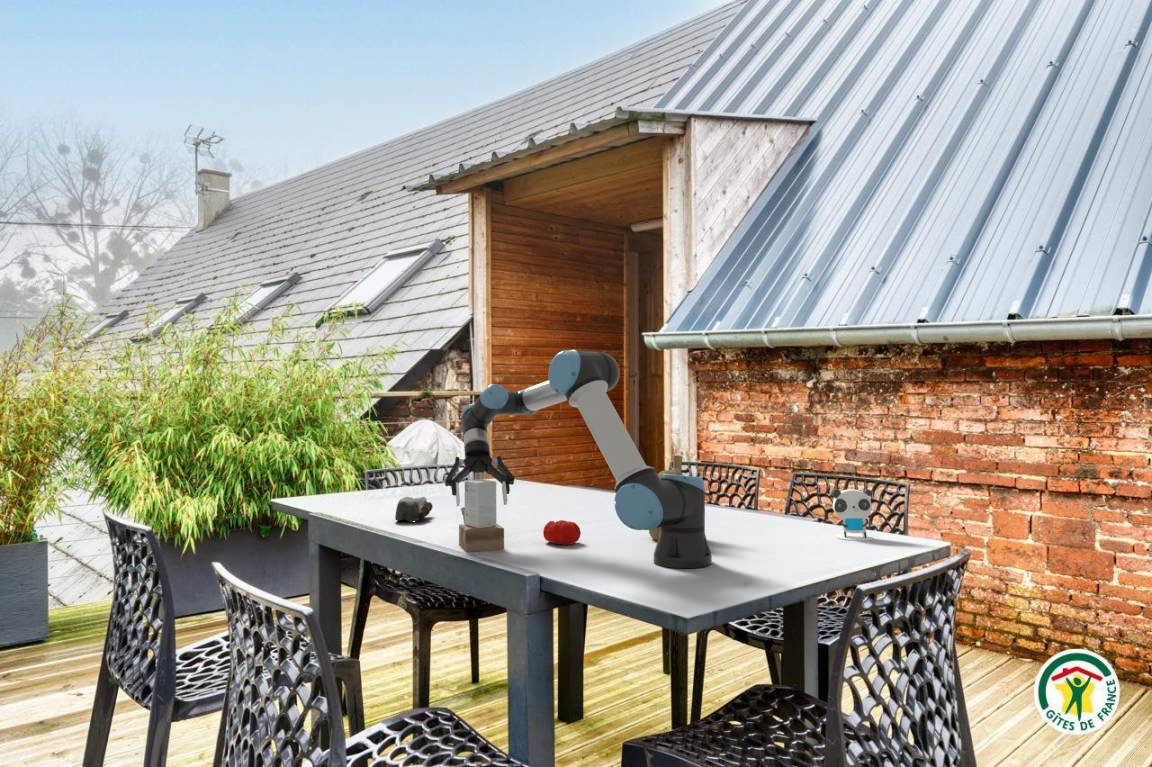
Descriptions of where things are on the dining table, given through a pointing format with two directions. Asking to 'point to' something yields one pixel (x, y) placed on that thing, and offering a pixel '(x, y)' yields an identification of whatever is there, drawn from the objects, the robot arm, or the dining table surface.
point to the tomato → (561, 532)
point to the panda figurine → (852, 513)
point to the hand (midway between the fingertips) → (482, 502)
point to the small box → (480, 503)
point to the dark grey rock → (412, 508)
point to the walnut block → (481, 538)
